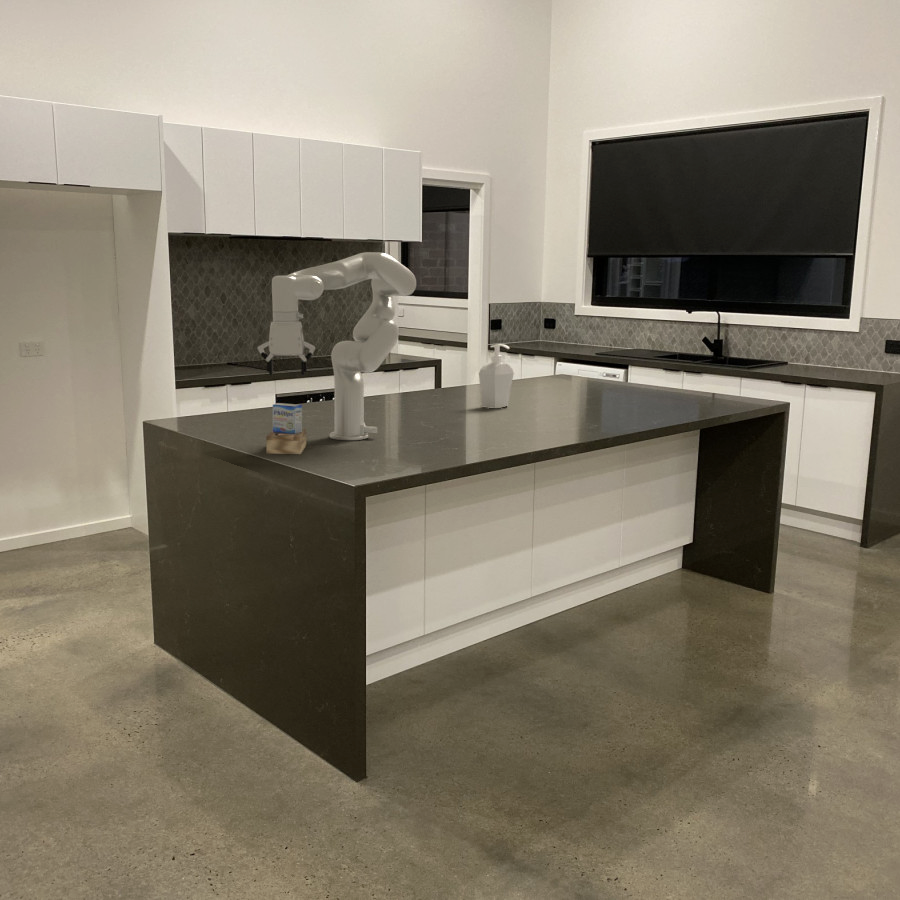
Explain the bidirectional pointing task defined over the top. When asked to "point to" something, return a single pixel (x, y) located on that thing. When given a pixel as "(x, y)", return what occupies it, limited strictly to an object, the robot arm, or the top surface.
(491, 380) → the soap bottle
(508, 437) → the top surface
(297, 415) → the medicine box
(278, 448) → the block
